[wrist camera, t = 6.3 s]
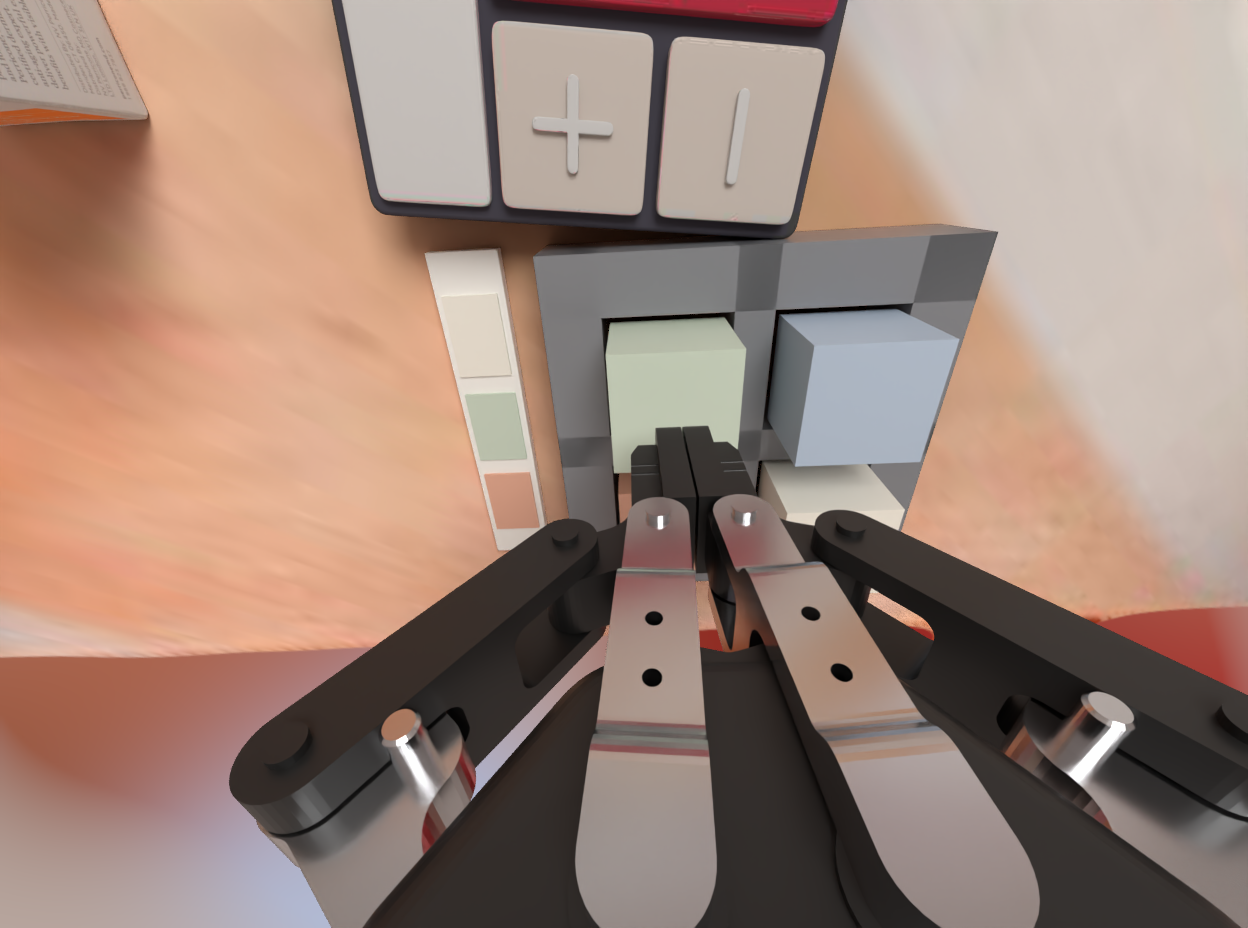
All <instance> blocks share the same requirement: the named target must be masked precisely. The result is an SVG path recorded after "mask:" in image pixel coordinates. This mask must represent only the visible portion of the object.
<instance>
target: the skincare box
mask: <svg viewBox="0 0 1248 928" xmlns="http://www.w3.org/2000/svg"><path fill="white" fill-rule="evenodd" d="M147 117H148V111H147V109H146V107H145V105H144V103H143V101H142V98H141V96H140V94H139V92H138V90H137V88H136V86H135V83H134V81H133V79H132V77H131V75H130V73H129V70H128V68H127V66H126V64H125V62H124V59H123V57H122V55H121V53H120V51H119V48H118V46H117V44H116V42H115V40H114V38H113V35H112V33H111V31H110V28H109V26H108V24H107V22H106V20H105V18H104V15H103V13H102V10H101V8H100V6H99V4H98V1H97V0H0V126H9V125H21V124H36V123H51V122H65V121H97V120H142V119H147Z"/></svg>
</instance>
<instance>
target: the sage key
mask: <svg viewBox="0 0 1248 928" xmlns="http://www.w3.org/2000/svg"><path fill="white" fill-rule="evenodd" d="M745 358H746V348H745V346H744V345H743V343H742V342H741V341H740V339H739V338H738V336H737V335H736V333H735V332H734V330H733V329H732V328H731V326H730V325H729V323H728V322H727V320H726V319H725V317H716V318H695V319H674V320H653V321H633V322H612V323H610V328H609V335H608V342H607V349H606V367H607V381H608V395H609V409H610V423H611V437H612V450H613V464H614V473H631V454H632V452H633V451H634V450H635V449H636V447H637V446H638V445H655V428H662V427H681V430H682V427H684V426H709V429H710V432H711V435H712V438H713V441H714V442H729V443H730V444H731V445H732V446H734V447H735V448H736V449H738V440H739V428H740V417H741V405H742V393H743V382H744V370H745Z"/></svg>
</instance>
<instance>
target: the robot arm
mask: <svg viewBox="0 0 1248 928" xmlns="http://www.w3.org/2000/svg"><path fill="white" fill-rule="evenodd" d="M631 502H632V507H631V508H630V510H629V513H628V517H627V518H626V519H625V520H624V521H623V522H622V523H620V524H618V525H617V526H614V527H612V528H609V529H606V530H602V531H598V532H597V531H596V529H595V528H594V527H593V526H592V525H591V524H590V523H588V522H586V521H583V520H579V519H562V520H557V521H554V522H552V523H550V524H547V525H546V526H544V527H543V528H541V529H540V530H538V531H537V532H536V533H534V534H533V535H531V536H530V537H529V538H527V539H526V540H524V541H523V542H522V543H520V544H519V545H517V546H516V547H514V548H513V549H512V550H510V551H509V552H507V553H506V554H505V555H503V556H502V557H500V558H499V559H497V560H496V561H495V562H493V563H492V564H490V565H489V566H488V567H486V568H485V569H483V570H482V571H481V572H479V573H478V574H476V575H475V576H473V577H472V578H471V579H469V580H468V581H466V582H465V583H464V584H462V585H461V586H459V587H458V588H456V589H455V590H454V591H452V592H451V593H449V594H448V595H447V596H445V597H444V598H442V599H441V600H440V601H438V602H437V603H435V604H434V605H432V606H431V607H430V608H428V609H427V610H425V611H424V612H423V613H421V614H420V615H418V616H417V617H416V618H414V619H413V620H411V621H410V622H408V623H407V624H406V625H404V626H403V627H401V628H400V629H399V630H397V631H396V632H394V633H393V634H391V635H390V636H389V637H387V638H386V639H384V640H383V641H382V642H380V643H379V644H377V645H376V646H375V647H373V648H372V649H370V650H369V651H368V652H366V653H365V654H363V655H362V656H360V657H359V658H358V659H356V660H355V661H353V662H352V663H351V664H349V665H348V666H346V667H345V668H343V669H342V670H341V671H339V672H338V673H336V674H335V675H334V676H332V677H331V678H329V679H328V680H326V681H325V682H324V683H322V684H321V685H319V686H318V687H317V688H315V689H314V690H312V691H311V692H310V693H308V694H307V695H305V696H304V697H302V698H301V699H300V700H298V701H297V702H295V703H294V704H293V705H291V706H290V707H288V708H287V709H285V710H284V711H283V712H281V713H280V714H279V715H277V716H276V717H274V718H273V719H271V720H270V721H269V722H267V723H266V724H265V725H264V726H262V727H261V728H260V729H259V730H258V731H257V732H256V733H255V734H254V735H253V736H252V737H251V738H250V739H249V740H248V742H247V743H246V744H245V745H244V747H243V748H242V749H241V751H240V753H239V754H238V756H237V757H236V759H235V762H234V764H233V766H232V769H231V773H230V778H229V779H230V780H229V786H230V791H231V793H232V795H233V796H234V797H235V798H236V799H237V801H238V802H239V803H240V804H241V805H242V806H243V807H244V808H245V809H246V810H247V811H248V812H249V813H250V814H251V815H252V816H253V817H254V818H255V819H256V822H257V825H258V827H259V829H260V830H261V831H262V832H263V833H264V834H265V835H266V836H267V837H268V838H269V839H270V840H271V841H272V842H273V843H274V844H275V845H276V846H277V847H278V848H279V849H280V850H281V851H282V852H283V853H284V854H285V855H286V856H287V858H289V860H290V861H291V862H292V863H293V864H294V865H295V866H297V867H299V868H300V869H301V871H302V873H303V875H304V877H305V878H306V880H307V882H308V884H309V886H310V888H311V890H312V892H313V893H314V895H315V897H316V899H317V901H318V903H319V905H320V907H321V909H322V911H323V912H324V914H325V916H326V918H327V920H328V922H329V924H330V926H331V928H1248V695H1246V694H1244V693H1242V692H1240V691H1238V690H1235V689H1233V688H1231V687H1229V686H1227V685H1225V684H1223V683H1220V682H1218V681H1216V680H1214V679H1212V678H1210V677H1208V676H1206V675H1204V674H1201V673H1199V672H1197V671H1195V670H1193V669H1191V668H1188V667H1186V666H1184V665H1182V664H1180V663H1178V662H1176V661H1174V660H1172V659H1170V658H1168V657H1165V656H1163V655H1161V654H1159V653H1157V652H1154V651H1153V650H1151V649H1148V648H1146V647H1144V646H1142V645H1140V644H1138V643H1136V642H1134V641H1131V640H1129V639H1127V638H1125V637H1123V636H1121V635H1119V634H1117V633H1114V632H1112V631H1110V630H1108V629H1106V628H1104V627H1102V626H1100V625H1097V624H1095V623H1093V622H1091V621H1089V620H1087V619H1085V618H1083V617H1080V616H1078V615H1076V614H1074V613H1072V612H1070V611H1068V610H1066V609H1064V608H1061V607H1059V606H1057V605H1055V604H1053V603H1051V602H1049V601H1047V600H1044V599H1042V598H1040V597H1038V596H1036V595H1034V594H1032V593H1030V592H1027V591H1025V590H1023V589H1021V588H1019V587H1017V586H1015V585H1013V584H1010V583H1008V582H1006V581H1004V580H1002V579H1000V578H998V577H996V576H993V575H991V574H989V573H987V572H985V571H983V570H981V569H979V568H976V567H974V566H972V565H970V564H968V563H966V562H964V561H962V560H959V559H957V558H955V557H953V556H951V555H949V554H947V553H945V552H942V551H940V550H938V549H936V548H934V547H932V546H930V545H928V544H926V543H923V542H921V541H919V540H917V539H915V538H913V537H911V536H909V535H906V534H904V533H902V532H900V531H898V530H896V529H894V528H892V527H889V526H887V525H885V524H883V523H881V522H879V521H877V520H875V519H872V518H870V517H868V516H866V515H864V514H861V513H858V512H854V511H849V510H830V511H827V512H824V513H822V514H820V515H819V516H818V517H817V519H816V521H815V525H814V526H813V525H808V524H802V523H796V522H791V521H787V520H784V519H781V518H779V517H778V515H777V513H776V511H775V510H774V508H773V507H772V506H771V505H770V504H769V503H768V502H767V501H765V500H763V499H761V498H759V497H758V496H757V493H756V491H755V489H754V486H753V484H752V481H751V479H750V477H749V474H748V472H747V471H746V467H745V465H744V463H743V460H742V457H741V455H740V453H739V450H738V449H736V448H735V447H734V446H732V445H731V444H730V443H729V442H714V441H713V438H712V435H711V432H710V429H709V426H684V427H682V430H681V427H662V428H655V445H638V446H637V447H636V449H635V450H634V451H633V452H632V454H631ZM694 564H695V569H696V574H698V573H707V575H708V580H709V587H708V600H709V604H710V607H711V610H712V614H713V617H714V621H715V624H716V627H717V631H718V634H719V637H720V641H721V644H722V647H723V651H724V652H722V651H717V650H712V649H706V648H701V647H700V640H699V626H698V611H697V596H696V582H695V571H694ZM871 588H872V589H874V590H875V591H877V592H879V593H881V594H882V595H884V596H886V597H888V598H889V599H891V600H893V601H895V602H896V603H898V604H900V605H901V606H903V607H905V608H907V609H908V610H910V611H912V612H914V613H915V614H917V615H919V616H920V617H922V618H923V619H924V620H925V621H926V622H927V623H928V624H929V625H930V626H931V628H932V630H933V632H934V641H933V640H930V639H928V638H926V637H925V636H923V635H921V634H920V633H918V632H916V631H915V630H913V629H911V628H910V627H908V626H906V625H905V624H903V623H901V622H900V621H898V620H896V619H895V618H893V617H892V616H890V615H888V614H887V613H885V612H883V611H882V610H880V609H878V608H877V607H875V606H873V605H872V604H870V603H868V602H867V601H868V597H869V594H870V591H871ZM607 625H610V626H609V634H608V641H607V649H606V656H605V664H604V666H603V667H600V668H599V669H597V670H595V671H593V672H591V673H589V674H588V675H586V676H585V677H584V678H582V679H581V680H579V681H578V682H577V683H576V684H575V685H574V686H572V687H571V688H570V689H569V690H568V691H567V692H566V693H565V694H564V695H563V696H562V697H561V699H560V700H559V701H558V702H557V703H556V704H555V705H554V707H553V708H552V709H551V710H550V711H549V712H548V713H547V715H546V716H545V717H544V718H543V719H542V720H541V721H540V723H539V724H538V725H537V726H536V727H535V728H534V729H533V731H532V732H531V733H530V734H529V735H528V736H527V737H526V739H525V740H524V741H523V742H522V743H521V744H520V745H519V747H518V748H517V749H516V750H515V751H514V753H512V755H511V756H510V757H509V758H508V759H507V760H506V761H505V763H504V764H503V765H502V766H501V767H500V768H499V769H498V771H497V772H496V773H495V774H494V775H493V776H492V777H491V779H490V780H489V781H488V782H487V783H486V784H485V785H484V787H483V788H482V789H481V790H480V791H479V792H478V793H477V795H476V796H475V797H474V798H473V799H472V801H471V798H472V796H473V793H474V789H475V784H476V771H475V768H476V767H477V765H479V763H480V762H481V761H482V760H483V759H484V758H485V757H486V756H487V755H488V754H489V753H490V752H491V751H492V750H493V749H494V748H495V747H496V746H497V745H498V744H499V743H500V742H501V741H502V740H503V739H504V738H505V737H506V736H507V735H508V734H509V732H510V731H511V730H512V729H513V728H514V727H515V726H516V725H517V724H518V723H519V722H520V721H521V720H522V719H523V718H524V717H525V716H526V715H527V714H528V713H529V712H530V711H531V710H532V709H533V707H535V706H536V704H538V702H539V701H540V700H541V699H542V698H543V697H544V696H545V695H546V694H547V693H548V692H549V691H550V690H551V689H552V688H553V687H554V686H555V685H556V684H557V683H558V682H559V681H560V680H561V679H562V678H563V677H564V676H565V674H567V673H568V671H569V670H570V669H571V668H572V667H573V666H574V665H575V664H576V663H577V662H578V661H579V660H580V659H581V658H582V657H583V656H584V655H585V654H586V653H587V652H588V651H589V650H590V649H591V647H593V646H594V645H595V643H597V641H598V640H599V639H600V638H601V637H602V636H603V634H604V632H605V629H606V626H607Z"/></svg>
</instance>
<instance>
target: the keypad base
mask: <svg viewBox="0 0 1248 928" xmlns="http://www.w3.org/2000/svg"><path fill="white" fill-rule="evenodd" d="M997 234H998V232H996V231H988V230H981V229H974V228H967V227H959V226H952V225H945V224H928V225H910V226H891V227H873V228H855V229H836V230H818V231H799V232H794V233H793V234H792V235H791V236H789V237H788V238H785V239H770V238H753V237H737V236H707V237H688V238H670V239H652V240H633V241H615V242H596V243H578V244H559V245H547V246H546V247H545V248H543V249H542V250H541V251H540V252H538V253H537V254H536V255H534V256H533V261H534V268H535V275H536V282H537V290H538V297H539V304H540V311H541V318H542V326H543V333H544V340H545V347H546V354H547V362H548V369H549V376H550V383H551V391H552V398H553V405H554V412H555V419H556V427H557V434H558V441H559V448H560V455H561V463H562V470H563V477H564V484H565V491H566V499H567V506H568V513H569V519H579V520H583V521H586V522H588V523H590V524H591V525H592V526H593V527H594V528H595V529H596V531H597V532H598V531H602V530H606V529H609V528H612V527H614V526H617V525H618V524H620V511H619V496H618V476H617V473H614V464H613V450H612V437H611V423H610V409H609V395H608V381H607V367H606V349H607V342H608V329H607V318H618V317H639V316H660V315H680V314H701V313H719V316H718V317H725V319H726V320H727V322H728V323H729V325H730V326H731V328H732V329H733V330H734V332H735V333H736V335H737V336H738V338H739V339H740V341H741V342H742V343H743V345H744V346H745V348H746V358H745V370H744V382H743V393H742V405H741V417H740V428H739V440H738V450H739V453H740V455H741V457H742V460H743V463H744V465H745V467H746V471H747V472H748V474H749V477H750V479H751V481H752V484H753V486H754V489H755V488H756V480H757V471H758V462H759V460H782V459H790V457H789V455H788V454H787V452H786V450H785V449H784V447H783V445H782V443H781V442H780V440H779V438H778V436H777V435H776V433H775V431H774V430H773V428H772V426H771V424H770V423H769V421H768V419H767V415H768V406H769V398H770V397H766V392H767V383H768V374H769V365H770V357H771V348H772V339H773V330H774V321H775V313H776V310H783V309H804V308H825V307H845V306H866V305H867V308H866V310H882V309H898V310H900V311H902V312H904V313H906V314H908V315H910V316H912V317H914V318H917V319H919V320H921V321H923V322H925V323H927V324H929V325H931V326H933V327H935V328H937V329H939V330H942V331H944V332H946V333H948V334H950V335H952V336H954V337H956V338H958V339H960V340H959V343H958V346H957V349H956V352H955V355H954V358H953V361H952V365H951V368H950V371H949V374H948V377H947V380H946V383H945V386H944V389H943V393H942V396H941V399H940V402H939V405H938V408H937V411H936V414H935V418H934V421H933V424H932V427H931V430H930V433H929V436H928V439H927V442H926V446H925V449H924V452H923V455H922V458H921V461H920V462H908V463H881V464H867V465H868V466H869V467H870V469H871V470H872V471H873V472H874V473H875V475H876V476H877V477H878V478H879V479H880V480H881V482H882V483H883V484H884V485H885V486H886V488H887V489H888V490H889V491H890V492H891V494H892V495H893V496H894V497H895V498H896V500H897V501H898V502H899V503H900V504H901V506H902V507H903V508H904V509H905V511H904V514H903V517H902V520H901V523H900V527H899V530H898V531H900V532H901V529H902V526H903V523H904V520H905V517H906V514H907V511H908V508H909V505H910V502H911V499H912V496H913V493H914V489H915V486H916V483H917V480H918V477H919V474H920V471H921V468H922V465H923V462H924V459H925V456H926V453H927V449H928V446H929V443H930V440H931V437H932V434H933V431H934V428H935V425H936V422H937V419H938V416H939V413H940V409H941V406H942V403H943V400H944V397H945V394H946V391H947V388H948V385H949V382H950V379H951V376H952V373H953V369H954V366H955V363H956V360H957V357H958V354H959V351H960V348H961V345H962V342H963V339H964V336H965V333H966V329H967V326H968V323H969V320H970V317H971V314H972V311H973V308H974V305H975V302H976V299H977V296H978V293H979V290H980V286H981V283H982V280H983V277H984V274H985V271H986V268H987V265H988V262H989V259H990V256H991V253H992V250H993V246H994V243H995V240H996V237H997ZM694 571H695V581H709V580H708V575H707V573H698V574H696V570H694Z"/></svg>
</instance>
